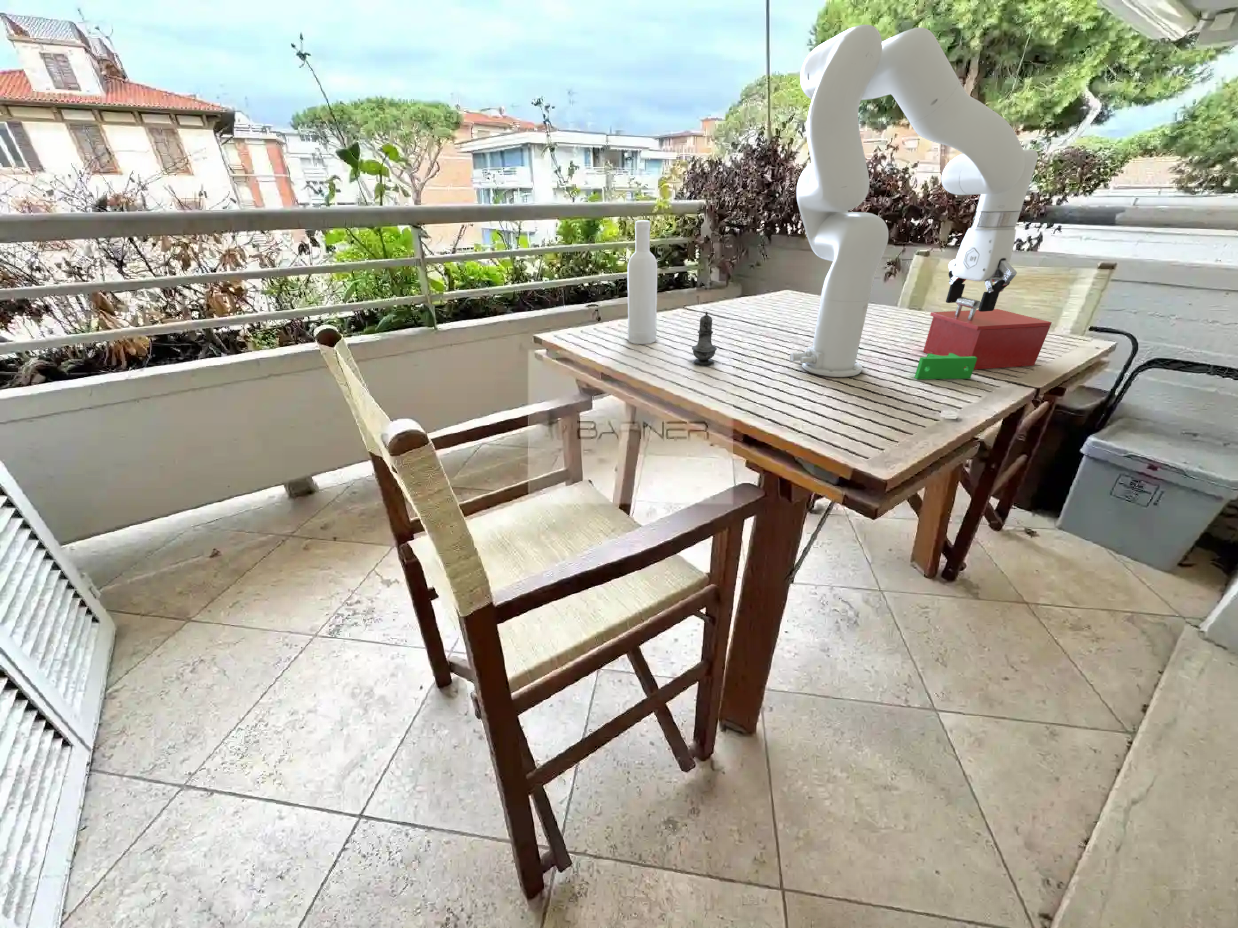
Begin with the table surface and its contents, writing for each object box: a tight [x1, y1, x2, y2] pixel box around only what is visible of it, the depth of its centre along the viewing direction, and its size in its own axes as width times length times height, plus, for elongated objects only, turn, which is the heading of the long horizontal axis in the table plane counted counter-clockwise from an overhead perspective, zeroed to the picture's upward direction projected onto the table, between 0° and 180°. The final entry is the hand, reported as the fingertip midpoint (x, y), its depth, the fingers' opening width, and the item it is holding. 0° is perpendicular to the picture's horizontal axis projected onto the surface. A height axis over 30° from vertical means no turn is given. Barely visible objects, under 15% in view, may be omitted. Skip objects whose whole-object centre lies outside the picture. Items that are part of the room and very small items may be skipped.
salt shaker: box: [691, 311, 718, 367], centre depth 113 cm, size 6×6×12 cm
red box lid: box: [929, 296, 1052, 330], centre depth 109 cm, size 18×15×5 cm
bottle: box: [627, 219, 658, 345], centre depth 127 cm, size 8×8×30 cm
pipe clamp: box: [914, 353, 977, 380], centre depth 103 cm, size 11×4×5 cm, turn 89°
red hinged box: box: [922, 316, 1051, 370], centre depth 112 cm, size 17×15×9 cm
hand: (968, 306), depth 108 cm, fingers open, 9 cm apart
